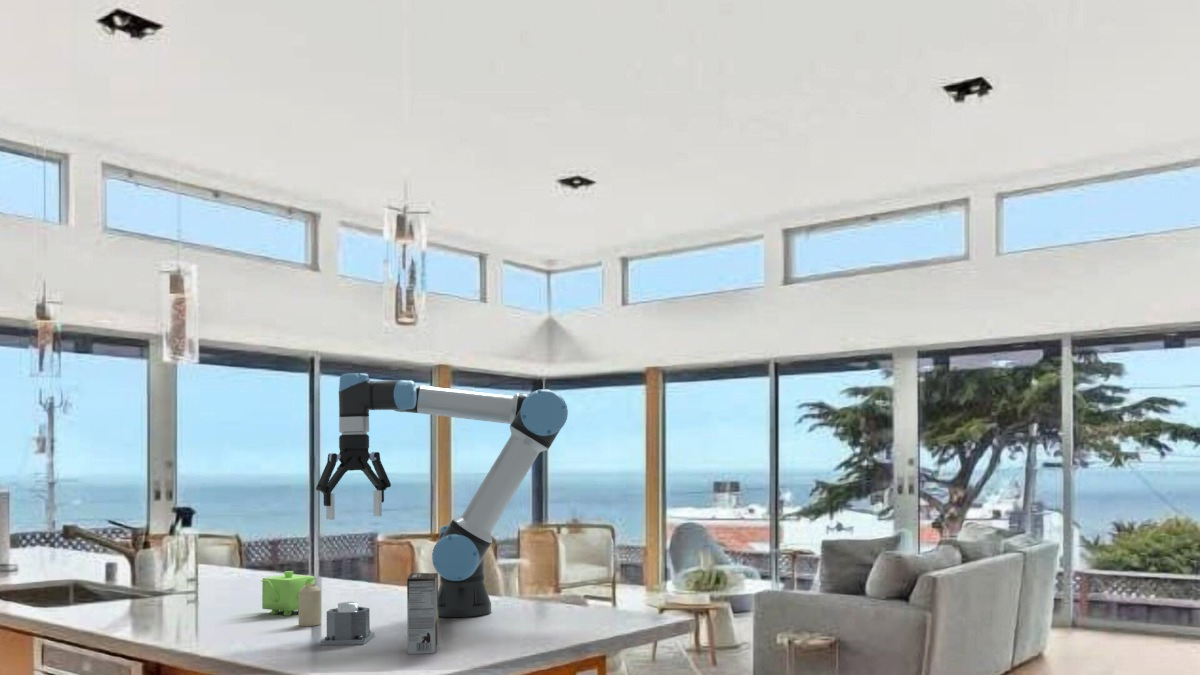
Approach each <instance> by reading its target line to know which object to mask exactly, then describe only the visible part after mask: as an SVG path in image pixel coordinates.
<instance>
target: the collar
mask: <svg viewBox="0 0 1200 675" xmlns="http://www.w3.org/2000/svg"><path fill="white" fill-rule="evenodd" d="M370 622H371V621H370V607H364V606H358V611H355V612H338V607H337V608H336V607H335V608H330V609H329V610H327V611H326V637H329V639H333V640H352V639H358V636H362V638H364V637H367V636H368V635H369V634H370V632H371V630H370V627H371V626H370Z"/></svg>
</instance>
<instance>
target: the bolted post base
mask: <svg viewBox="0 0 1200 675" xmlns="http://www.w3.org/2000/svg"><path fill="white" fill-rule="evenodd" d="M358 604H359V602H357V601H343V602H339V603H337V608H338V612H355V611H358V607H359V605H358ZM374 637H375V631H370V634H369V635H368V636H367V637H364V638H362V636H358V639H352V640H333V639H329V637H327V636H325V637H324V638H322V639H321V640H320V641H319V642H320V644H319V645H320V646H339V645H340V646H341V645H342V646H343V645H344V646H346V645H347V646H349V645H366V644H367V643H368V642H369V641H370V640H372V639H374Z"/></svg>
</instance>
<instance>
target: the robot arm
mask: <svg viewBox="0 0 1200 675" xmlns="http://www.w3.org/2000/svg"><path fill="white" fill-rule="evenodd" d="M369 377H370V376H369V374H368V373H355V372H354V373H352V372H351V373H344V374H341V375H340V377H339V387H338V388H339V389H338V411H339V412H338V414H339V416H338V418H339V419H338V421H339V422H338V426H339V427H338V432H339V434H340V433H341V435H339V436H338V449H339V454H337V453H336V452H332V453H331V452H330V453H328V454H327V459H326V460H327V461H326V465H325V466H324V469H323V471H322V474H321V475H320V478H319V480H318V483H317V484H316V487H315V490H316V491H317V492H318V491H319V492H321V493H322V494H323V506H324V507H325V508H326V516H325V517H326V518H325V519H326V520H330V521H331V520H334V521H335V506H336V505H335V504H336V503H335V501H336V500H335V495H336V494H335V493H334V492H333V490H334V489H335V488H336V487H337V485H338V483H339V482H340V480H341V479H342V478H343V476H344V475H346V473H347V472H348V471H361V472H363V474H364V475H365V476H366V477H367V479H368V480H369V482H370V483H371V485H372V486H373V487H375V490H373V493H372V494H373V495H372V496H373V498H372V499H373V502H372V503H373V508H372V509H373V512H372V513H373V516H374V517H382V516H383V515H382V511H383V510H382V506H383V505H382V504H383V503H384V501H385V491H386V490H387V488H390V487H391V486H392V484H391V481H390V479H389V476H388V474H387V472H386V470H385V467H384V465H383V463H382V461H381V455H380V454H381V453H380V452H379V451H372V452H370V451H369V449H370V435H369V434H368V433H369V432H370V411H395V412H399V413H411V414H412V413H413V414H421V415H423V414H424V415H431V416H440V417H448V418H455V419H456V418H457V419H466V420H473V421H481V422H482V421H483V422H491V423H498V424H499V423H500V424H507V425H509V430H510V435H509V438H508V440H507V441H506V443H505V445H504V446H503V448H502V449H501V451H500V452H499V454H498V456H497V458H496V459H495V461H494V463H493V464H492V466H491V467H490V469H489V471H488V473H487V474H486V476H485V477H484V479H483V481H482V482H481V484H480V485H479V487H478V488H477V491H476V492H475V494H474V495H473V498H472V499H471V500H470V502H469V503H468V505H467V507H466V508H465V510H464V512H463V513H462V515H460V516H456V517H453V519H452V520H451V521H450V523H449V525H443V526H441V527H440V529H439V535H438V539H439V540H437V542H436V543H435V545H434V547H433V549H432V553H431V559H432V564H433V567H434V569H435V571H436V573H438V575H439V577H440V578H439V581H440V582H439V586H438V617H443V618H467V617H468V618H469V617H477V616H478V617H479V616H484V615H488V614H491V612H492V602H491V599H490V596H489V593H488V590H487V587H486V584H485V555H486V553H487V551H488V550H489V548H490V546H491V544H492V543H493V539H492V531H493V530H494V529H495V527H496V525H497V523H498V522H499V520H500V519H501V517H502V515H503V513H504V512H505V511H506V509H507V507H508V505H509V504H510V502H511V501H512V498H513V497H514V495H515V494H516V492H517V491H518V489H519V487H520V485H522V484H521V483H522V482H523V481H524V479H525V477H526V476H527V475H528V472H529V471H530V469H531V467H532V466H533V464H534V462H535V461H536V459H537V457H538V456H539V455H540V453H542V452H544V451H545V452H546V451H548V450H549V449H550V448H551V446H552V444H553V443H554V441H555V440H556V439H557V438H556V437H557V436H558V434H559V433H560V431H561V429H563V428H564V426H565V424H566V422H567V419H568V415H569V414H568V413H569V412H568V406H567V405H568V404H567V402H566V401H565V399H564V398H563V397H562V396H561V394H559V393H558V392H556V391H553V390H552V389H546V388H542V389H541V388H540V389H537V390H534V391H532V392H531V393H523V392H522V393H521V392H517V393H516V394H514V395H507V394H506V395H505V394H498V393H488V392H483V391H482V392H480V391H471V390H464V389H463V390H462V389H453V388H446V387H445V388H444V387H437V386H427V385H418V384H416V383H415V381H413V380H408V379H406V380H405V379H399V380H379V381H375V380H370V378H369ZM369 460H370V461H371V464H372V466H373V468H374V470H373V469H372V467H371V465H370V464H369ZM338 461H339V462H340V463H339V465H338V466H337V468H336V470H335V467H336V465H337V463H338ZM334 470H335V472H334ZM333 472H334V474H333Z"/></svg>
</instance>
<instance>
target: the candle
mask: <svg viewBox="0 0 1200 675" xmlns="http://www.w3.org/2000/svg"><path fill="white" fill-rule="evenodd" d="M321 624H322V589H321V588H320V587H319V586H318V585H316V584H309V585H303V587H302V588H301V589H300V590H299V611H298V626H299V627H314V626H319V625H321Z"/></svg>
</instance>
